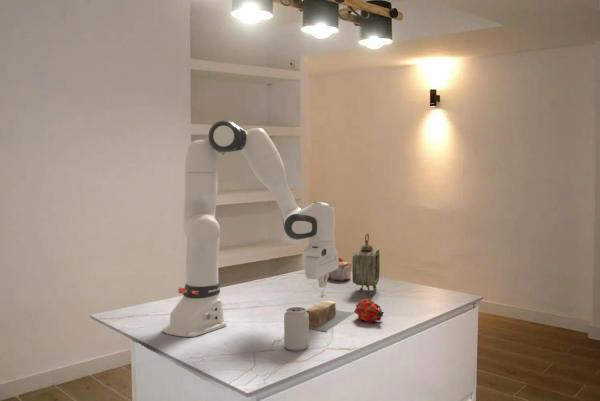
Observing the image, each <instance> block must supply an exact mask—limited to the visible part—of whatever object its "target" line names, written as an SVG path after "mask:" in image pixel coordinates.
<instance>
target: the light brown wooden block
mask: <svg viewBox="0 0 600 401" xmlns="http://www.w3.org/2000/svg"><path fill="white" fill-rule="evenodd" d="M306 310H307V311H306V312H307V313H308V314H309V325H312V326H320V325H322V324H324V323H325V322H327V321H328V320H330V319H331V318H333V317H335V316H336V310H337V303H336V301H328V300H322V301H320V302H319V303H317V304H315V305H313V306H311V307H310V308H306Z"/></svg>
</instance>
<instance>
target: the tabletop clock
mask: <svg viewBox="0 0 600 401" xmlns="http://www.w3.org/2000/svg"><path fill="white" fill-rule="evenodd" d="M369 240H370V235H369V233H366V234H365V236H364V244H362V246H361V247H360V249H358V250H356V251H355V252H354V253H353V254H352V262H351V274H352V283H353V284H355V285H357V286H361V287H360V288H359V291H360V293H361V292H363V291H364V286H365V287H366V288H367V291H368V293H367V294H368V296H371V295H373V293H372V291H371V290H370V287H372V289H373V290H376V289H377V285H378V283H379V281H380V268H381V267H380V264H381V262H380V258H381V257H380V250H379V249H374V248H373V246H372V245H371V244H369Z"/></svg>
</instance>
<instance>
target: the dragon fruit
mask: <svg viewBox="0 0 600 401" xmlns="http://www.w3.org/2000/svg"><path fill="white" fill-rule="evenodd" d="M355 306H356V308H355V310H354V311H353V314H356V315H357V318H358V320H359V322H362V321H364V322H366V323H367V324H369V323H370V324H376V323H375V322H381V320H382V318H383V317H384V316H383V315H384V311H383V309H382V308H381V306H380V305H378V304H377V303H375V302H374V301H373V300H372V299H368V298H364V299H361V300H360V301H359V302H358V303H357V304H356V305H355Z"/></svg>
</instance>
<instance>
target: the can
mask: <svg viewBox="0 0 600 401" xmlns="http://www.w3.org/2000/svg"><path fill="white" fill-rule="evenodd" d="M306 311H307V308H305V307H300V306H299V307H298V306H295V307H293V306H292V307H289V308H287V309H285V313H284V314H283V318H284V319H283V331H284V332H283V335H284V336H283V337H284V339H283V340H284V342H283V345H284V346H285V347H286V349H287V350H288V351H293V352H301V351H303V350H306V349H307V348H308V347H309V345H310V332H309V331H310V330H309V314H308V313H307V312H306Z"/></svg>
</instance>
